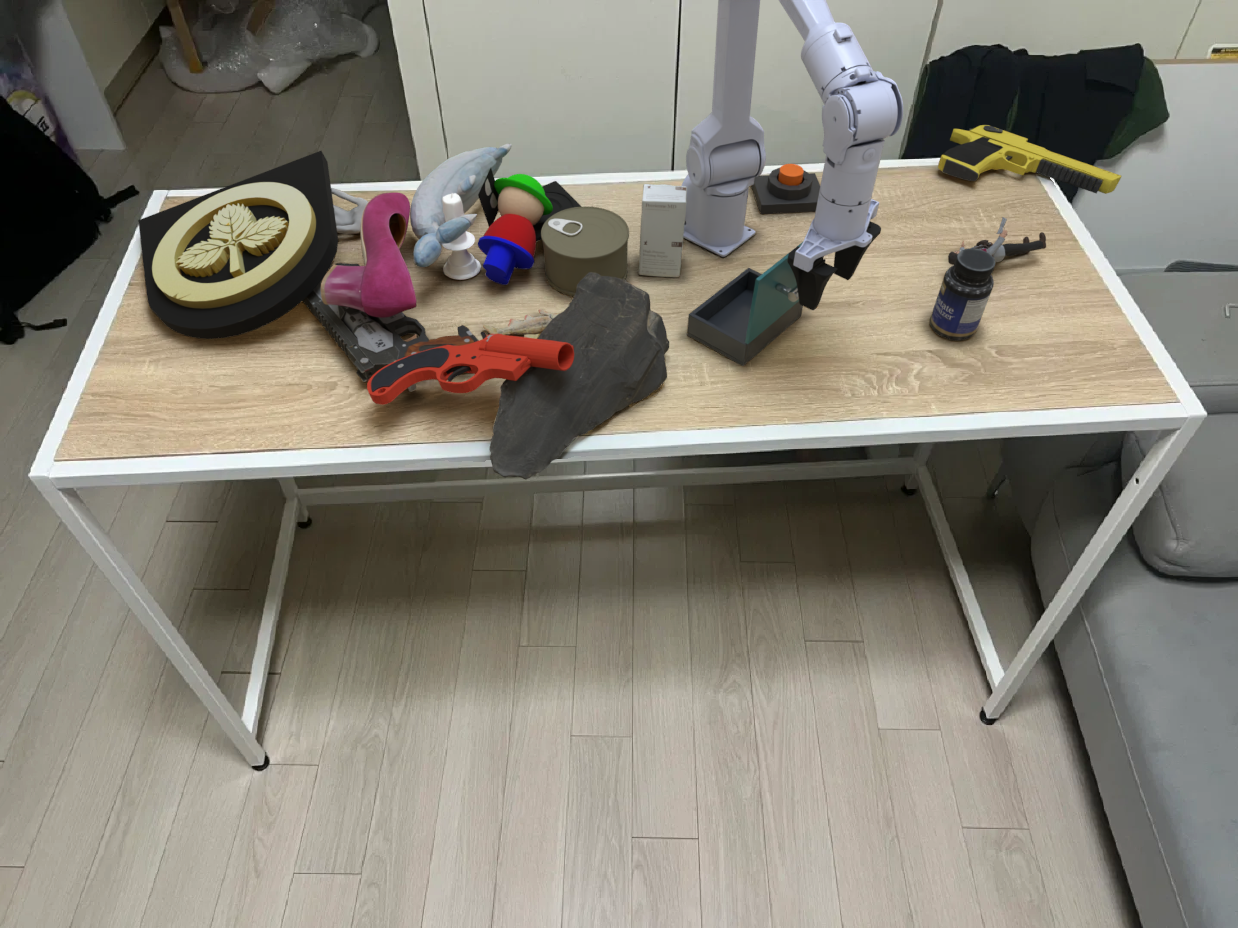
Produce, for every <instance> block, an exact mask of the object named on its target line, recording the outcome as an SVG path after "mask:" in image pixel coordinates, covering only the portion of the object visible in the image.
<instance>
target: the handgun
mask: <svg viewBox="0 0 1238 928" xmlns="http://www.w3.org/2000/svg"><path fill="white" fill-rule="evenodd" d="M1028 140H1029V138H1027V137H1024V136H1021V135H1018V134H1015V133H1013V132H1009V131H1007V130H1005V129H1004V130H1003V129H1001V128H998V127H996V126H992V125H989V124H982V125H978V126H976V127H973V128H971V127H970V128H969V130H965V129H960V128H953V129H952V132H951V136H950V138H949V142H952V143H956V144H958V145H956V146H954V147H951V148H949V149H948V150H946V151H945V152H944V153H943V154H941V155H940V157H939V161H938V164H937V168H938V170H939V171H941V173H943V174H946V175H948V176H951V177H955V178H957V179H962V180H964V181H969V182H976V181H977V180H978V179H979V178H980V174H982V173H984V172H987V171H990V170H994V171H995V170H1005V171H1008V172H1011V173H1014V174H1017V175H1020V176H1024V175H1025V173H1026V174H1027V173H1036V174H1040V175H1042V176H1044V177H1047V178H1051V179H1053V180H1056V181H1059V182H1062V183H1064V184H1068V185H1071V186H1073V187H1076V188H1079V189H1082V190H1086V191H1088V192H1091V193H1093V194H1098V192H1099V193H1102V194H1106V195H1107V194H1111V193H1113V192H1114V191H1115V189H1116V188H1117V186H1118V184H1119V182H1120V181H1121V179H1122V175H1121V174H1118V173H1115V172H1112V171H1109V170H1107V169H1103V168H1100V167H1098V166H1094V165H1092V164H1088V163H1087V162H1082V161H1080V160H1077V159H1074V158H1071V157H1068V156H1065V155H1062V154H1060V153H1057V152H1054V151H1051V150H1048V149H1046V147H1043V146H1039V145H1037V144H1034V143H1031V142H1028Z"/></svg>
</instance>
